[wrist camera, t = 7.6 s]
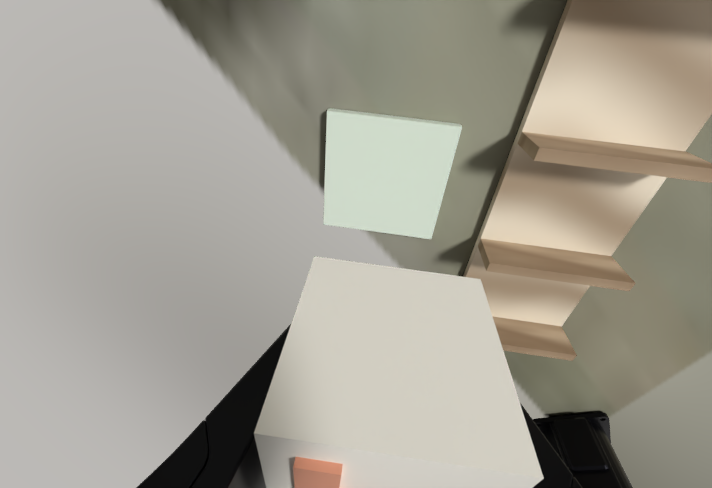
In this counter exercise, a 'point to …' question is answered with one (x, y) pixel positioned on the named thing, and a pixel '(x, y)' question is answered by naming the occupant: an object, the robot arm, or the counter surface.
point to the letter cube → (393, 387)
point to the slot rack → (592, 160)
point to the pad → (386, 171)
